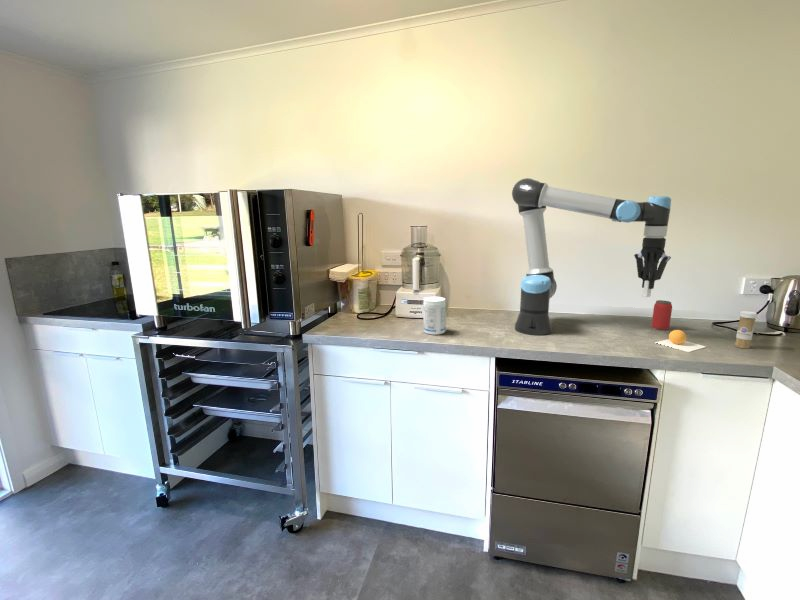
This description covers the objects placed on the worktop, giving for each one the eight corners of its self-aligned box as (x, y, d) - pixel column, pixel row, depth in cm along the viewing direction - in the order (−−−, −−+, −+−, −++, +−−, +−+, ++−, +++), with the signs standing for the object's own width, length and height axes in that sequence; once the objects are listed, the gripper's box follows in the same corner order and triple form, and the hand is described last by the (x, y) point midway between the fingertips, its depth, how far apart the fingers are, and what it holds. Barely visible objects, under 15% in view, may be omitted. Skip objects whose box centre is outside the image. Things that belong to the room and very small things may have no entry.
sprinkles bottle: (734, 347, 144) (740, 312, 141) (734, 344, 147) (740, 309, 145) (750, 349, 141) (757, 314, 138) (750, 346, 144) (756, 311, 142)
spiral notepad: (654, 343, 149) (654, 342, 149) (672, 338, 155) (672, 338, 155) (688, 352, 139) (688, 351, 139) (706, 347, 144) (706, 346, 144)
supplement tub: (439, 328, 172) (440, 295, 169) (449, 333, 163) (450, 299, 160) (419, 330, 169) (419, 297, 166) (428, 336, 160) (428, 301, 157)
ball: (672, 348, 147) (662, 336, 150) (681, 345, 149) (670, 334, 152) (684, 340, 143) (673, 328, 146) (692, 337, 145) (682, 326, 148)
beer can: (672, 330, 165) (675, 303, 163) (655, 330, 167) (658, 302, 164) (665, 326, 172) (668, 300, 169) (648, 325, 173) (652, 299, 170)
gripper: (678, 237, 147) (669, 298, 152) (643, 236, 158) (636, 292, 163) (666, 238, 143) (657, 300, 148) (632, 236, 155) (625, 294, 160)
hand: (646, 296), depth 156 cm, fingers closed
